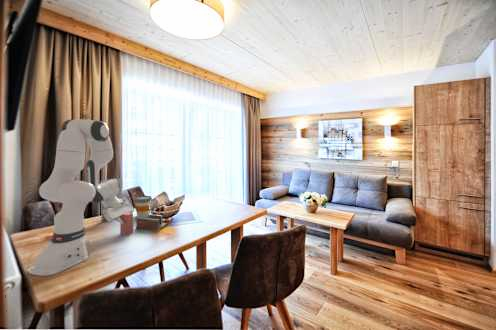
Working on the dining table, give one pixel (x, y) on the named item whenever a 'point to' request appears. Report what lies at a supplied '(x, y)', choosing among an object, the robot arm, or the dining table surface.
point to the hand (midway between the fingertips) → (127, 221)
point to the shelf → (149, 224)
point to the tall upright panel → (116, 195)
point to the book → (126, 224)
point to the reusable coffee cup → (142, 206)
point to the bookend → (156, 217)
